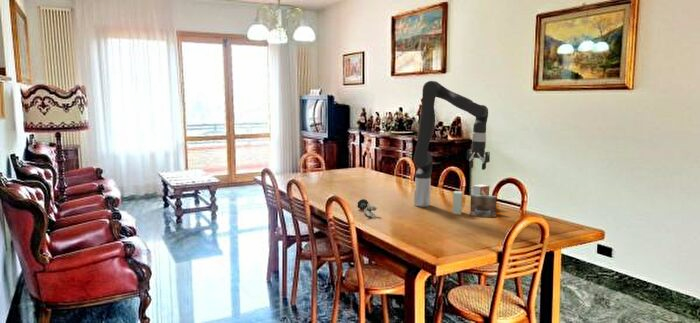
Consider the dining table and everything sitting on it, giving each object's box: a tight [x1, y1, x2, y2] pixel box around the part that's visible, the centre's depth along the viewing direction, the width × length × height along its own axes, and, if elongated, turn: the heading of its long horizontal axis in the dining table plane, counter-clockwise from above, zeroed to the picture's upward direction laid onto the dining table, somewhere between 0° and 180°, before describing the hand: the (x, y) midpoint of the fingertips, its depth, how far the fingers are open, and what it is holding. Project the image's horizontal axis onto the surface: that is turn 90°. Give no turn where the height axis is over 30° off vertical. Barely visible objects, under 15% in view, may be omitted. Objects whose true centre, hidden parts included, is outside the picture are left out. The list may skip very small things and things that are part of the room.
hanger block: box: [452, 190, 463, 215], centre depth 270 cm, size 4×6×12 cm
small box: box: [471, 183, 490, 196], centre depth 286 cm, size 8×6×13 cm
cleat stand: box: [468, 194, 497, 218], centre depth 266 cm, size 14×11×10 cm
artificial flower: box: [357, 198, 378, 219], centre depth 269 cm, size 9×22×10 cm, turn 6°
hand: (477, 168), depth 272 cm, fingers open, 8 cm apart
